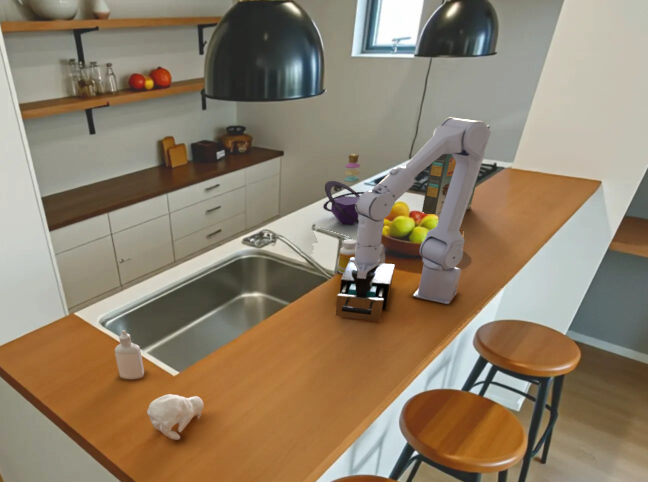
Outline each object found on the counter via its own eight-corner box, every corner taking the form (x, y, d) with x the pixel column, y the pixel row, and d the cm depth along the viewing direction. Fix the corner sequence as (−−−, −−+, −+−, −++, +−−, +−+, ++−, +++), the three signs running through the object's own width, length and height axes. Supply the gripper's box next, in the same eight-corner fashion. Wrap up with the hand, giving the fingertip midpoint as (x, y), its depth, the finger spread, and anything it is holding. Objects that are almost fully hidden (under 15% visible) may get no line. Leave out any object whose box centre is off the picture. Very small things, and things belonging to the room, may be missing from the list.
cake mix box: (456, 205, 197) (474, 124, 180) (470, 208, 192) (489, 125, 175) (421, 216, 188) (436, 132, 171) (434, 219, 184) (451, 134, 167)
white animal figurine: (142, 397, 89) (189, 374, 96) (145, 433, 93) (190, 408, 100) (164, 411, 85) (212, 386, 92) (166, 448, 89) (212, 421, 96)
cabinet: (385, 310, 128) (389, 284, 123) (338, 304, 132) (341, 279, 128) (390, 289, 138) (394, 264, 133) (347, 284, 142) (349, 260, 138)
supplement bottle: (356, 274, 147) (359, 244, 142) (338, 274, 148) (340, 244, 143) (355, 268, 152) (358, 238, 146) (337, 267, 153) (340, 238, 147)
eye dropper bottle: (134, 384, 108) (125, 338, 101) (117, 376, 110) (107, 331, 104) (147, 374, 110) (139, 329, 104) (130, 367, 113) (121, 323, 107)
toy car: (375, 296, 125) (377, 280, 123) (373, 302, 123) (375, 286, 120) (350, 294, 128) (351, 278, 125) (347, 299, 125) (349, 283, 122)
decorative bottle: (366, 234, 176) (375, 162, 162) (312, 228, 185) (315, 160, 171) (381, 216, 192) (390, 149, 178) (330, 212, 201) (334, 148, 187)
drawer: (377, 330, 118) (380, 309, 114) (331, 324, 122) (333, 303, 118) (385, 300, 130) (388, 280, 127) (343, 295, 135) (345, 276, 131)
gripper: (356, 232, 124) (351, 280, 131) (346, 252, 113) (341, 303, 120) (385, 233, 121) (378, 283, 129) (377, 254, 110) (370, 307, 118)
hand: (362, 293), depth 124 cm, fingers closed on toy car, 3 cm apart
